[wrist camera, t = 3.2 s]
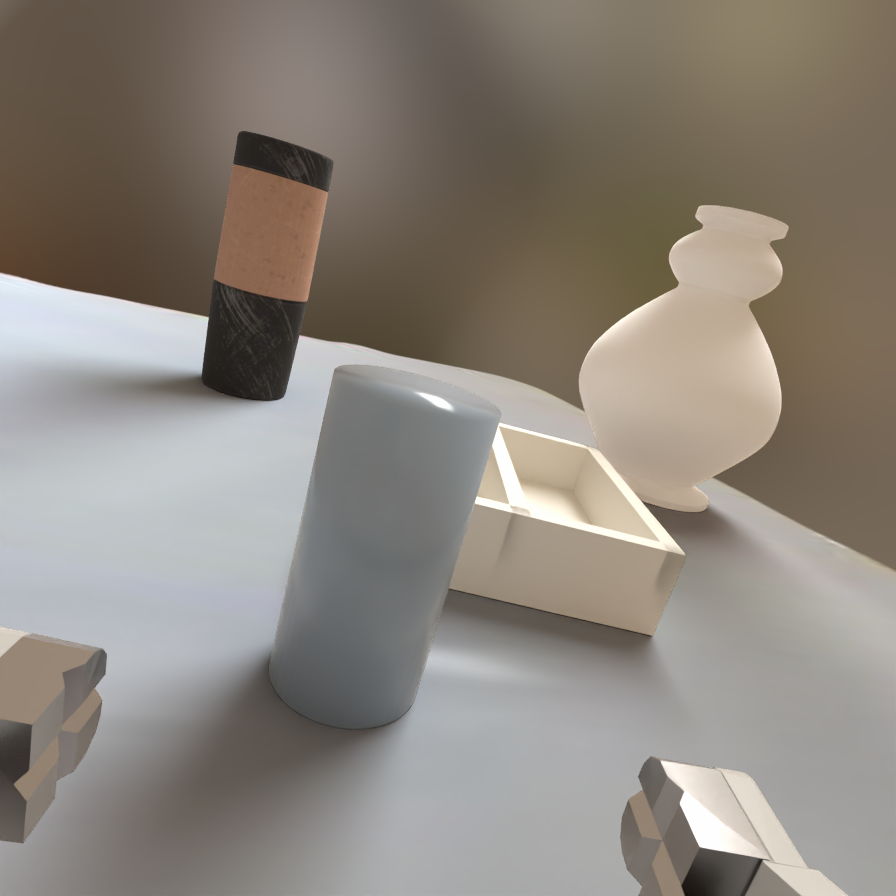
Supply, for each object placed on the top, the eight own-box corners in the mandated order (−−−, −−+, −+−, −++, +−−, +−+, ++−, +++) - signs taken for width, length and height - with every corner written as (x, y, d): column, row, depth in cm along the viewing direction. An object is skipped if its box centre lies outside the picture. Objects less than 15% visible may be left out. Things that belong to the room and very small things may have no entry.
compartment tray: (347, 564, 31) (369, 477, 29) (379, 453, 48) (393, 395, 47) (652, 635, 32) (686, 555, 31) (577, 503, 49) (597, 448, 48)
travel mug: (305, 400, 57) (354, 167, 51) (234, 402, 50) (281, 137, 45) (252, 373, 60) (292, 154, 55) (179, 373, 54) (216, 125, 49)
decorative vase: (770, 545, 53) (909, 244, 46) (569, 492, 52) (680, 175, 45) (693, 475, 70) (786, 248, 63) (540, 435, 69) (618, 198, 62)
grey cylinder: (249, 709, 20) (319, 386, 17) (288, 616, 26) (346, 355, 23) (414, 743, 21) (510, 435, 18) (418, 645, 26) (493, 394, 23)
